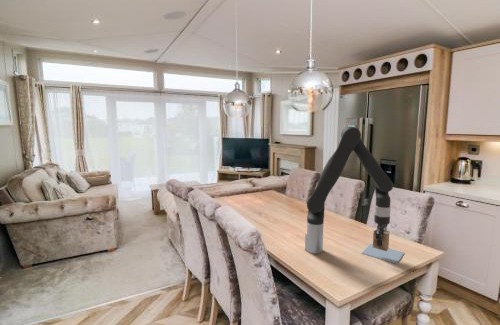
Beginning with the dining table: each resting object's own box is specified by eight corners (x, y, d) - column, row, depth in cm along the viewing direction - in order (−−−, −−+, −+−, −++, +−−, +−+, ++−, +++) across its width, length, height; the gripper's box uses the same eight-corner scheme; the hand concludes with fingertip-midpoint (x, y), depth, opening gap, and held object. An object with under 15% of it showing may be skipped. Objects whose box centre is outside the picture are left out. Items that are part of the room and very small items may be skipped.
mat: (361, 253, 150) (361, 252, 150) (371, 244, 162) (371, 243, 162) (396, 264, 138) (396, 263, 138) (404, 253, 150) (404, 252, 150)
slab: (372, 247, 146) (373, 230, 144) (374, 245, 148) (375, 228, 147) (386, 251, 141) (387, 233, 140) (388, 249, 144) (389, 231, 142)
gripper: (378, 209, 150) (377, 238, 152) (370, 216, 139) (369, 246, 142) (393, 212, 145) (391, 242, 147) (385, 219, 134) (384, 251, 137)
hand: (380, 244), depth 144 cm, fingers closed on slab, 3 cm apart
